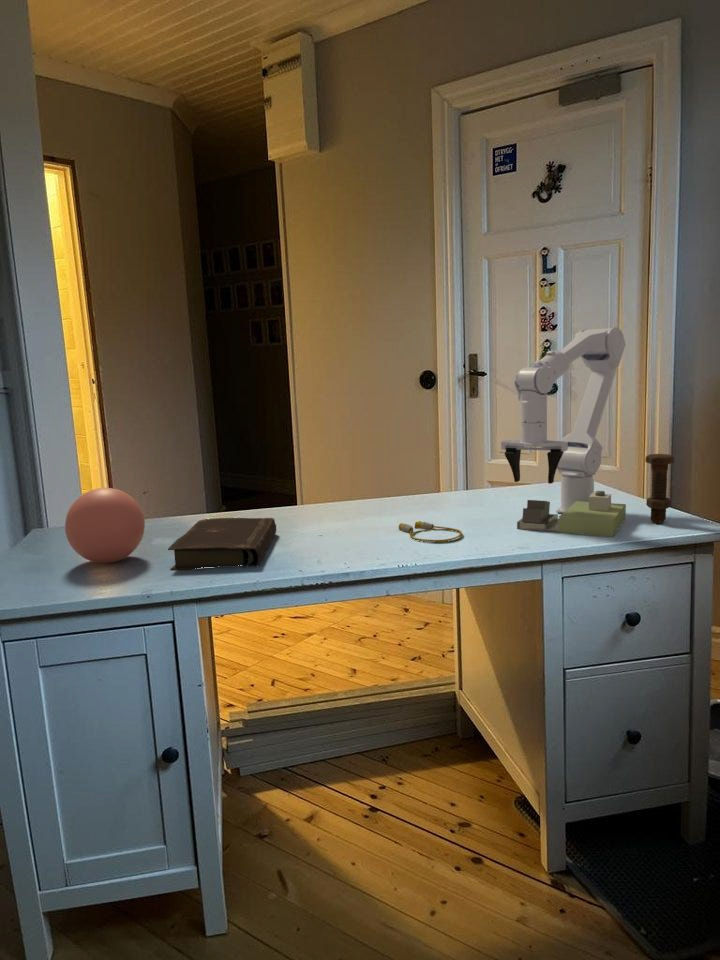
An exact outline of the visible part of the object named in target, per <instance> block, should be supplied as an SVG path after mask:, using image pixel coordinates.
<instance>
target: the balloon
mask: <svg viewBox="0 0 720 960" xmlns="http://www.w3.org/2000/svg"><path fill="white" fill-rule="evenodd" d="M145 528H146V521H145V515H144V513H143V510H142V508H141V507H140V504H139V503H138V502H137V501H136V500H135V498H133V497H132V496H131V495H130V494H128V493H126V492H125V491H122V490H120V489H118V488H117V489H116V488H111V487H100V488H94V489H92V490H89V491H86V492H85V493H83V494H82V495H80V496H78V497H77V499H75V500H74V501H73V503H72V505H70V507H69V509H68V511H67V514H66V517H65V523H64V530H65V531H64V532H65V535H66V539H67V541H68V543H69V546H70V547H71V548H72V549H73V550H74V552H75V553H76V554H77V555H79V556H80V557H81V558H83V559H85V560H88V561H90V562H93V563H97V564H98V563H99V564H111V563H116V562H118V561H121V560H123V559H126V558H127V557H128V556H130V555H131V554H132V553H134V551H135V550H136V549H137V548H138V547H139V545H140V543H141V542H142V539H143V537H144V534H145Z"/></svg>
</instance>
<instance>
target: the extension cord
mask: <svg viewBox="0 0 720 960" xmlns="http://www.w3.org/2000/svg"><path fill="white" fill-rule="evenodd" d="M418 528H423V529H419V530H416V531H414V529H418ZM432 528H433V529H432ZM398 530H399V531H401V532H404V531H405V532H404V533H409V535H410V537H409V538H410V539H411V538H412V539H415V540H419V541H418V542H420V541H423V542H422V543H425V542H444V543H449V542H448V541H453V542H456V541H455V540H457V541H459V540H460V539H461V538H462V537H461V536H463V535H462V534H463V532H462V531H461V530H460V529H458V528H453V527H445V526H436V525H434V523H430V522H426V521H420V520H419V521H416V522H415V523H414V527H413V525H411V524H407V523H399V524H398ZM428 530H435V531H448V530H453V531H452V532H455V531H457V532H456V533H458V532H459V533H458V535H457V536H455V537H451V538H446V539H427V538H418V537H414V535H415V534H416V533H421V532H420V531H424V532H429V531H428ZM409 535H408V536H409ZM412 539H411V540H412ZM458 539H459V540H458ZM415 540H414V541H415Z"/></svg>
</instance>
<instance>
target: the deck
mask: <svg viewBox="0 0 720 960" xmlns="http://www.w3.org/2000/svg"><path fill="white" fill-rule="evenodd" d="M626 508H627V507H626V503H615V502H614V503H613V502H612V494H611V493H606V492H605V490H596V491H595V490H594V493H592V494H591V495H590V496H589V502H581V501H576V502H575V503H574V504H572V505H571V506H570V507H569V508H568V509H567V510H566V511H565V512H564V513H560V515H558V519H559V532H558V533H563V534H576V535H587V536H598V537H600V536H601V537H611V538H612V537H614V535H615V534H616V533H617V531H618V530H619V529H620V527H621V526H622V525H623V523H624V522H625V521H626V514H627V511H626V510H627V509H626ZM624 520H625V521H624ZM623 521H624V522H623ZM621 524H622V525H621ZM618 528H619V529H618ZM615 532H616V533H615Z"/></svg>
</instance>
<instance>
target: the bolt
mask: <svg viewBox="0 0 720 960" xmlns="http://www.w3.org/2000/svg"><path fill="white" fill-rule="evenodd" d="M645 463H647V464H650V466H651V467H650V470H651V482H650V483H651V489H650V494H651V495H650V497H648V498H647V499H646V504H645V505H646V506H647V507H648V508H649V509H650V521H651V523H653V524H655V523H656V524H655V525H658V524H660V523H661V524H664V523H665V521H666V519H667V509H668V508H670V507H671V506H672V501H671V499H670V498H669V497H667V489H668V471H669V465H671V464H674V463H675V457H674V455H672V454H667V453H651V454H647V455H646V456H645Z"/></svg>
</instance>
